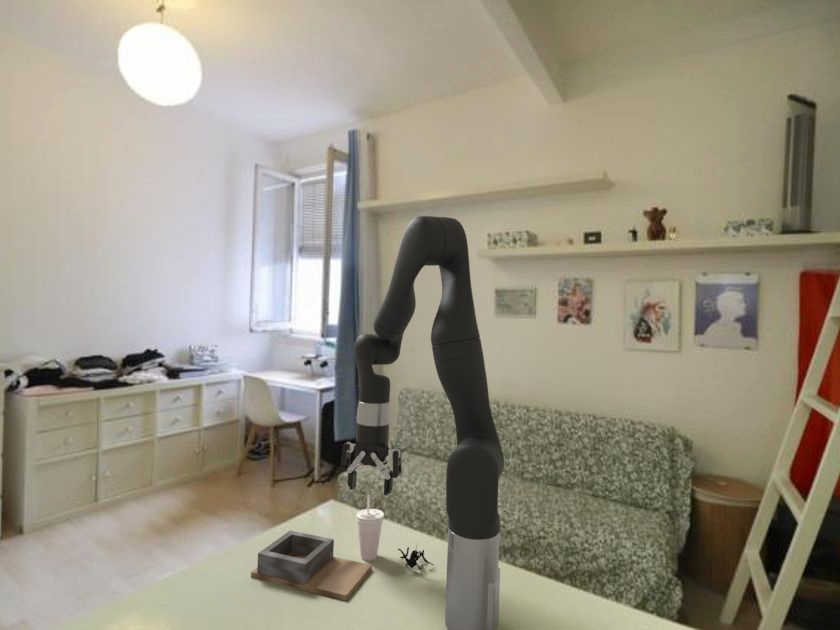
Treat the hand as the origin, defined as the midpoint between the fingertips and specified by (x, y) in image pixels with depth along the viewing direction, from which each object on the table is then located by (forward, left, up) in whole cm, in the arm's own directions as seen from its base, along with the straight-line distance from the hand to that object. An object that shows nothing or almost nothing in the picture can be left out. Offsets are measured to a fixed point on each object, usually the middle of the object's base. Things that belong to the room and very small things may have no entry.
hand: (369, 491), depth 106 cm
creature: (-11, -1, -15) cm, 19 cm away
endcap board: (+8, +11, -15) cm, 20 cm away
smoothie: (0, 0, -15) cm, 15 cm away
